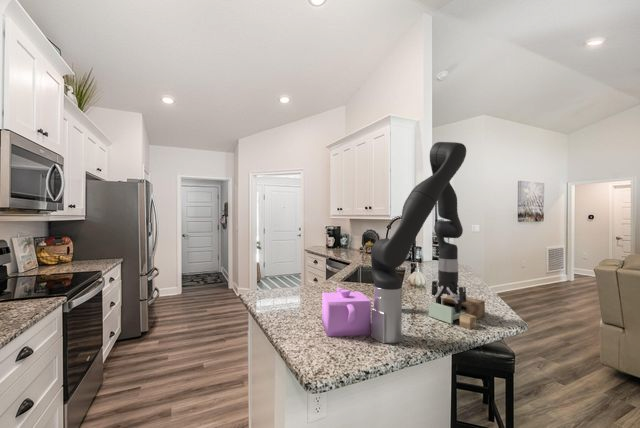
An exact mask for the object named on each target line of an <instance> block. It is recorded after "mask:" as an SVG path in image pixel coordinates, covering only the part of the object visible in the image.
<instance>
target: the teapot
mask: <svg viewBox="0 0 640 428" xmlns="http://www.w3.org/2000/svg"><path fill="white" fill-rule="evenodd" d="M321 297H322V299H321V307H322V308H321V312H322V313H321V324H322V326H323V327H322V328H323V329H324V332H325V334H326V335H327V336H326V337H329V338H330V337H344V336H345V337H347V336H348V337H349V336H350V337H351V336H367V335H369V336H370V335H371V311H372V309H371V308H372V304H371V303H372V301H371V300H370V299H369V298H368V297H367V296H366V295H365V294H363V293H362V292H361V291H351V290H350V289H342V288H341V287H339V286H336V292H332V291H331V292H322V293H321Z"/></svg>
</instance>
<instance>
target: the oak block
mask: <svg viewBox="0 0 640 428" xmlns="http://www.w3.org/2000/svg"><path fill="white" fill-rule="evenodd" d="M459 327H461V328H465V329H468V330H472V329H473V330H474V329H475V328H477V319H476V316H473V315H469V314H462V315H460V318H459Z"/></svg>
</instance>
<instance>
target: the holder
mask: <svg viewBox="0 0 640 428" xmlns="http://www.w3.org/2000/svg"><path fill="white" fill-rule="evenodd" d="M441 298H442V299H441V305H445V306H448V305H449V306H452V307H455V303H456V302H455V300H454V299H453V298H452V297H451V296H447V297H441ZM485 303H486V302H485V300H481V299H478V298H477V299H476V298H475V297H474V298H473V297H470V296H469V297H468V296H466V302H463V303H461V309H462V310H466V314H469V315H473V316H476V320H477V319H479V318H480V319H481V318H484V317H485V316H486V314H485V313H486V310H485V309H486V307H485V306H486V304H485Z"/></svg>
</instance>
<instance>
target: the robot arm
mask: <svg viewBox="0 0 640 428" xmlns="http://www.w3.org/2000/svg"><path fill="white" fill-rule="evenodd" d="M466 155H467V148H466V145H465V144H464V143H462V142H461V143H460V142H453V141H451V142H450V141H438V142H435V143H434V144H433V145H432V146H431V148H430V150H429V163H430V168H431V173H432V175H430V176H429V177H427V178H425V179H424V180H423V181H421V182H419V183H418V184H417V185H416V186H414V187H413V189H412V190H411V192H410V193H409V194H408V196H407V198H406V199H405V201H404V204H403V206H402V211H401V218H400V222H399V225H398V227H397V228H396V230H395V231H394V233H393V234H392V236H391V237H390V238H380V239H378V240H376V241H375V242H374V243H373V245H372V247H371V251H370V252H371V254H370V257H371V276H372V279H373V308H372V309H371V336H370V338H373V339H375V340H377V341H378V342H380V343H382V344H394V343H395V344H396V343H400V342H401V341H402V338H403V337H402V336H403V335H402V331H403V328H402V327H403V325H402V323H403V321H402V318H403V316H402V314H403V311H402V310H403V309H402V306H403V303H402V301H403V295H402V294H403V282H402V281H403V280H402V278H401V277H400V275H399V274H398V272H397V271H398V270H397V268H399V267H401V265H403V264H404V263H405V261H406V260H407V258H408V255H409V253H410V251H411V249H412V246H413V245H414V242H415V241H416V238H417V236H418V235H419V233H420V232H421V229H422V228H423V226H424V224H425V223H426V220H427V219H428V217H429V216H430V214H431V213H432V211H433V210H434V208H435V206H436V204H437V212H438V213H437V214H438V216H439V218H441V219H444V220H437V221H436V223H435V224H434V227H433V229H434V234H435V237H436V240H437V243H438V244H437V246H438V263H437V280H433V281H432V282H431V295H432V296H434V298H435V303H438V304H441V305H442V298H443V297H442V296H443V295H447V296H450V297H452V298H453V299H454V300H455V302H456V303H455V312H456V313H459V312H460V311H461V303H463V302H466V297H467V293H466V292H467V291H466V290H467V289H466V286H459V284H458V283H459V261H458V258H459V257H458V253H459V252H458V246H457V244H454V243H449V242H447V241H446V240H445V239H459V238H460V237H462V235H463V231H464V230H463V229H464V228H463V226H462V223H461V220H460V218H459V213H458V196H457V193H456V191H455V190H454V188H453V185H452V184H451V183H450V181H451V180H452V179H453V178H454V176H455V174H457V172H458V171H459V169H460V168H461V167H462V165H463V163H464V161H465V158H466Z"/></svg>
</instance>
